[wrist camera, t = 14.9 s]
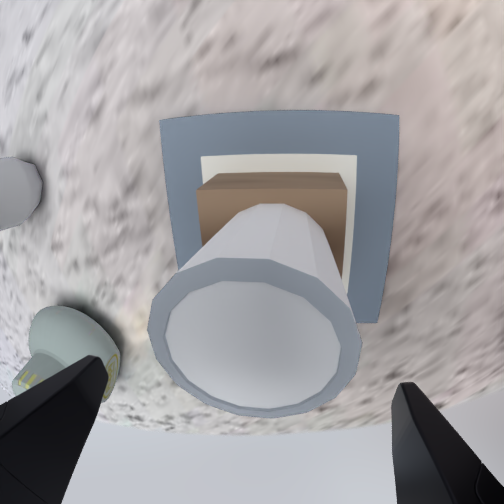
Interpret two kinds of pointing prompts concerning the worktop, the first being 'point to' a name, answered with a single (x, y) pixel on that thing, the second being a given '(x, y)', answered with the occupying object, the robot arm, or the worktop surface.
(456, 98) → the worktop surface
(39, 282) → the worktop surface
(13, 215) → the salt shaker
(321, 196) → the walnut block
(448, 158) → the worktop surface
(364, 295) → the board
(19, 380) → the air freshener
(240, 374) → the white cup
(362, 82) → the worktop surface
